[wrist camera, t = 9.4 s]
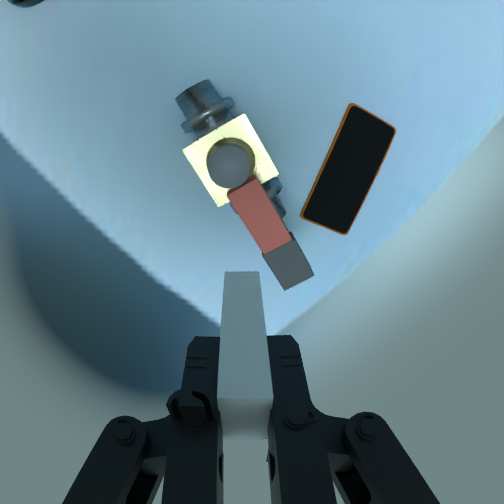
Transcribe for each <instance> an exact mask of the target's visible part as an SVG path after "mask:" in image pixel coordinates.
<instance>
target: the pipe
mask: <svg viewBox="0 0 504 504" xmlns="http://www.w3.org/2000/svg"><path fill="white" fill-rule="evenodd" d="M175 101H176V102H177V104H178V106H179V107H180V109H181V110H182V112H183V114H184V115H185V117H186V118H187V121H185V122H184V123H183V124H182V125H181V127H182V129H183V130H184V132H185V133H188V132H190V131H191V130H193V129H194V131H195V133H196V134H197V136H198V137H199V140H197V141H196V142H194V143H192V144H191V145H189V146H188V147H186V148H184V149H183V150H182V151H183V152H184V154H185V155H186V157H187V159H188V160H189V162H190V163H191V165H192V166H193V168H194V170H195V171H196V173H197V174H198V176H199V177H200V179H201V181H202V182H203V184H204V185H205V187H206V189H207V190H208V192H209V193H210V195H211V196H212V198H213V200H214V201H215V203H216V204H217V206H218V207H220V206H222V205H224V204H226V203H228V202H229V199H228V198H227V196H226V195H227V191H228V190H230V189H231V188H230V189H227V188H222V187H220V186H218V185H216V184H215V183H214V182H213V181H212V180H211V178H210V176H209V173H208V163H209V160H210V158H211V156H212V155H213V154H214V153H215V151H216V150H217V149H218V148H219V147H221V146H222V145H225V144H237V145H239V146H241V147H242V148H244V149H245V151H246V152H247V154H248V156H249V161H250V174H249V176H248V178H247V179H249V178H250V177H252V176H254V175H256V177H257V178H258V180H259V182H260V183H261V185H262V187H263V188H264V190H265V192H266V193H267V195H268V197H269V198H270V200H271V202H272V203H273V205H274V207H275V209H276V210H277V212H278V214H279V215H280V217H281V219H282V218H283V217H284V216H285V214H286V210H285V208H284V206H283V204H282V202H281V201H280V199H279V197H278V195H277V194H278V193H279V192H280V191H281V189H282V185H281V183H280V181H279V179H278V178H276V177H275V176H277V175H279V173H278V171H277V169H276V167H275V166H274V164H273V162H272V160H271V158H270V157H269V155H268V153H267V151H266V150H265V148H264V146H263V144H262V143H261V141H260V139H259V137H258V136H257V134H256V132H255V131H254V129H253V127H252V125H251V124H250V122H249V120H248V119H247V117H246V115H245V114H242V115H240V116H239V117H237V118H235V119H233V117H232V116H231V114H230V113H229V111H228V109H229V108H231V107H232V106H234V105H235V104H234V102H233V100H232V99H231V97H227V98H225V99H222V100H221V98H220V96H219V95H218V93H217V92H216V90H215V88H214V87H213V85H212V84H211V82H210V80H205V81H202V82H200V83H198V84H196V85H194V86H192V87H190V88H188V89H187V90H185V91H184V92H182V93H181V94H180V95H179V96H178V97H177V98H176V99H175ZM230 206H231V207H232V209H233V210H234V212H235V213H236V214H238V213H237V212H236V210H235V209H234V207H233V205H232V204H230Z"/></svg>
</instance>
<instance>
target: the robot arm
mask: <svg viewBox="0 0 504 504" xmlns="http://www.w3.org/2000/svg"><path fill="white" fill-rule="evenodd" d="M8 1H9V2H10V3H11V4H13V5H16V6H20V7H29V6H33V5H35V4H38V3H40V2H41V1H43V0H8ZM220 335H221V336H220V337H201V336H200V337H199V336H195V337H194V339H193V340H192V341H191V343H190V344H189V346H188V349H187V355H186V361H185V368H184V373H183V380H182V386H181V389H180V390H178V391H175V392H174V393H173V394H172V395H171V396H170V397H169V399H168V401H167V403H166V405H167V408H168V411H169V413H170V415H168V416H167V417H165V418H162V419H159V420H153V421H148V422H141V421H139V420H138V419H136V418H134V417H130V416H120V417H117V418H115V419H112V420H111V421H110V422H109V423H108V424H107V425H106V427H105V428H104V430H103V432H102V433H101V435H100V437H99V439H98V440H97V442H96V444H95V446H94V447H93V449H92V451H91V452H90V454H89V456H88V458H87V460H86V461H85V463H84V465H83V467H82V468H81V470H80V472H79V474H78V476H77V477H76V479H75V481H74V483H73V485H72V486H71V488H70V490H69V492H68V494H67V496H66V497H65V499H64V501H63V503H62V504H152V502H153V500H154V498H155V495H156V493H157V491H158V488H159V486H160V483H161V481H162V479H163V476H164V484H163V493H162V504H223V457H224V456H223V440H258V439H267V438H268V446H269V449H268V455H267V462H268V465H269V477H270V490H271V502H272V504H337V501H336V496H335V491H334V486H333V481H334V483H335V486H336V487H337V489H338V491H339V493H340V495H341V497H342V499H343V501H344V503H345V504H440V503H439V502H438V500H437V498H436V497H435V495H434V494H433V492H432V491H431V489H430V488H429V486H428V484H427V483H426V481H425V480H424V478H423V477H422V475H421V474H420V472H419V471H418V469H417V468H416V466H415V465H414V463H413V462H412V461H411V459H410V457H409V456H408V454H407V453H406V451H405V450H404V449H403V447H402V445H401V444H400V442H399V441H398V439H397V438H396V437H395V435H394V433H393V432H392V430H391V429H390V427H389V426H388V424H387V423H386V421H384V419H383V418H382V417H381V416H379V415H377V414H375V413H372V412H361V413H357V414H356V415H354V416H353V417H351V418H350V419H346V418H339V417H332V416H328V415H325V414H323V413H321V412H320V411H319V410H317V409H316V408H315V407H314V405H313V404H312V401H311V399H310V395H309V390H308V385H307V381H306V376H305V371H304V367H303V362H302V358H301V353H300V349H299V344H298V343H297V342H296V341H295V340H294V338H293V337H292V336H291V335H275V336H266V328H265V319H264V310H263V301H262V293H261V284H260V276H259V272H225V277H224V290H223V304H222V319H221V334H220ZM164 474H165V475H164Z"/></svg>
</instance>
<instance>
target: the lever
mask: <svg viewBox="0 0 504 504" xmlns="http://www.w3.org/2000/svg"><path fill="white" fill-rule="evenodd" d="M208 173H209V176H210V178H211V180H212V181H213V182H214V183H215V184H216V185H218V186H220V187H222V188H227V189H230V188H231V189H230V190H228V191H227V195H226V196H227V198H228V199H229V201H230V202H231V204H232V205H233V207H234V209H235V210H236V212H237V213H238V215H239V216H240V218H241V219H242V221H243V223H244V224H245V226H246V227H247V229H248V230H249V232H250V233H251V235H252V237H253V238H254V240H255V241H256V243H257V244H258V246H259V247H260V249H261V251H262V256H263V258H264V260H265V261H266V263H267V264H268V266H269V267H270V269H271V270H272V272H273V274H274V275H275V277H276V278H277V280H278V281H279V283H280V284H281V286H282V288H283V289H284V291H285V290H287V289H289V288H291V287H293V286H295V285H297V284H299V283H301V282H303V281H305V280H307V279H309V278H311V277H312V276H314V274H313V271H312V269H311V266H310V264H309V263H308V261H307V259H306V257H305V255H304V254H303V252H302V250H301V248H300V246H299V245H298V243H297V241H296V239H295V237H294V236H293V234H292V232H291V231H290V232H289V231H288V229H287V228H286V226H285V224H284V222H283V221H282V219H281V217H280V215H279V214H278V212H277V210H276V209H275V207H274V205H273V203H272V202H271V200H270V198H269V197H268V195H267V193H266V192H265V190H264V188H263V187H262V185H261V183H260V182H259V180H258V178H257V177H256V175H254V176H252V177H250V178H249V179H247V178H248V176H249V174H250V161H249V156H248V154H247V152H246V151H245V149H244V148H242V147H241V146H239V145H237V144H225V145H222V146H221V147H219V148H218V149H217V150H216V151H215V153H214V154H213V155H212V156H211V158H210V160H209V163H208Z"/></svg>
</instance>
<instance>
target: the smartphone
mask: <svg viewBox="0 0 504 504" xmlns="http://www.w3.org/2000/svg"><path fill="white" fill-rule="evenodd" d="M395 133H396V129H395V128H394V127H393V126H392V125H390V124H388V123H387V122H385V121H383V120H382V119H380V118H378V117H377V116H375V115H373V114H372V113H370V112H368V111H366V110H365V109H363V108H361V107H359V106H357V105H356V104H353V103H352V104H349V106H348V108H347V110H346V113H345V115H344V117H343V120H342V122H341V124H340V126H339V129H338V131H337V133H336V136H335V138H334V140H333V142H332V145H331V147H330V149H329V151H328V154H327V156H326V158H325V160H324V163H323V165H322V167H321V169H320V172H319V174H318V176H317V178H316V180H315V183H314V185H313V187H312V189H311V191H310V193H309V196H308V198H307V200H306V202H305V204H304V207H303V209H302V211H301V213H300V216H301V218H302V219H304V220H307V221H309V222H312V223H314V224H317V225H320V226H322V227H325V228H327V229H330V230H332V231H334V232H337V233H339V234H342V235H346V234H347V233H348V232H349V230H350V228H351V226H352V224H353V222H354V220H355V218H356V216H357V214H358V212H359V211H360V209H361V207H362V205H363V202H364V200H365V198H366V196H367V194H368V192H369V190H370V188H371V186H372V184H373V182H374V180H375V178H376V176H377V174H378V172H379V170H380V167H381V165H382V163H383V161H384V159H385V157H386V155H387V152H388V150H389V148H390V146H391V142H392V140H393V138H394V135H395Z"/></svg>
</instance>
